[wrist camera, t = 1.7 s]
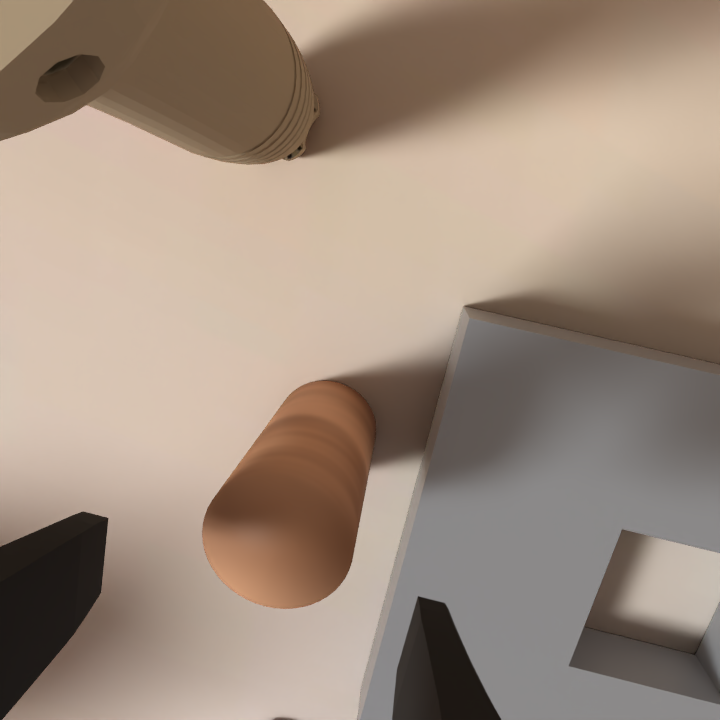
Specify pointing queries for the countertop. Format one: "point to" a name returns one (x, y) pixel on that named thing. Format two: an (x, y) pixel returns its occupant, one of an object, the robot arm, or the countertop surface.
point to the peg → (295, 500)
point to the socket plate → (556, 519)
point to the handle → (160, 72)
